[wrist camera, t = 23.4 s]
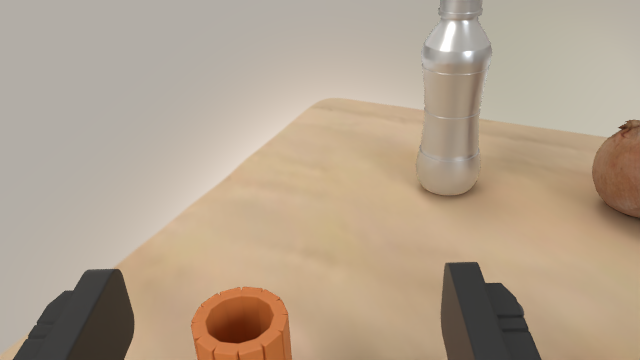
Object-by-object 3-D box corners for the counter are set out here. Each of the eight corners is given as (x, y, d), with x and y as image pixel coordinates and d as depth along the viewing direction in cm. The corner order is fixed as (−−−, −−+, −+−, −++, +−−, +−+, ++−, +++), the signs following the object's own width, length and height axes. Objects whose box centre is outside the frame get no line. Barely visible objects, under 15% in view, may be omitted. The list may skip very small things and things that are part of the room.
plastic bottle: (491, 190, 59) (517, -8, 49) (443, 210, 56) (460, 4, 46) (447, 166, 64) (463, -18, 54) (401, 184, 61) (408, -7, 51)
